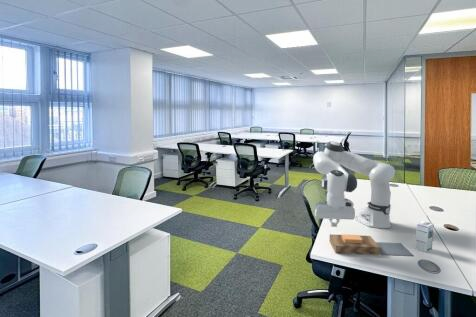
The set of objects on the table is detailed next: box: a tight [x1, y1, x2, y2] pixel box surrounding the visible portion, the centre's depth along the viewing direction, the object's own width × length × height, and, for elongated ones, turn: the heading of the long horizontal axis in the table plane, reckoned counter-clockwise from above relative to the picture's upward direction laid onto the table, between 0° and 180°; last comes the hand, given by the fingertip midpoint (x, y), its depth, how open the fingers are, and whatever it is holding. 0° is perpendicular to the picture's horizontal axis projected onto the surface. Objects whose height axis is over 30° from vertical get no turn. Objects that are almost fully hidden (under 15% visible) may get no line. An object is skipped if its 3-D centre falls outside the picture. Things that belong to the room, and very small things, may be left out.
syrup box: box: [414, 220, 435, 253], centre depth 150 cm, size 6×6×14 cm
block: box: [341, 233, 363, 243], centre depth 152 cm, size 9×6×2 cm, turn 85°
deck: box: [329, 233, 381, 256], centre depth 153 cm, size 22×14×4 cm, turn 85°
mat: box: [375, 241, 415, 257], centre depth 151 cm, size 16×14×1 cm
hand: (333, 226), depth 152 cm, fingers closed
